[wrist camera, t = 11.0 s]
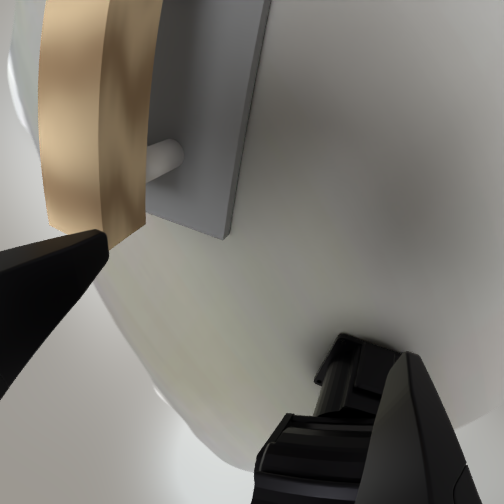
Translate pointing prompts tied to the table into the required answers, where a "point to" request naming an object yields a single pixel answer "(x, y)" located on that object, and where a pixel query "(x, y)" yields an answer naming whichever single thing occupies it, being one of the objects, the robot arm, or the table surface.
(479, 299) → the table surface
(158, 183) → the peg board
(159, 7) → the oak plank
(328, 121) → the table surface
